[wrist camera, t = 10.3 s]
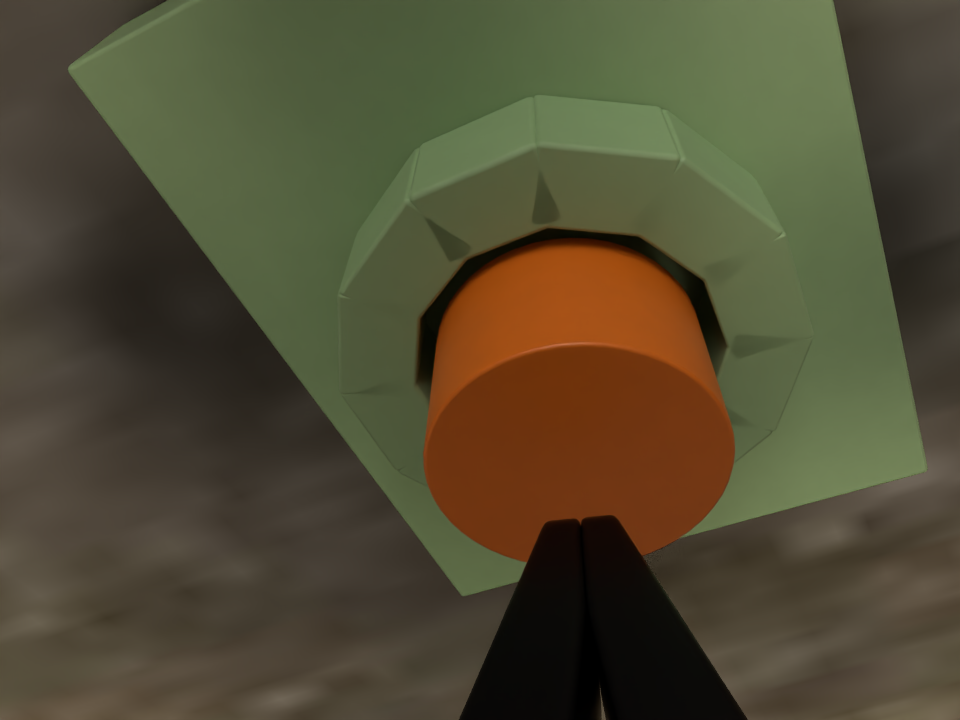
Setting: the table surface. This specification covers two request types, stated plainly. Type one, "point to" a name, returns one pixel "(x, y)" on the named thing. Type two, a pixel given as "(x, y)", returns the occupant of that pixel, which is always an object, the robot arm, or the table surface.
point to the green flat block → (530, 206)
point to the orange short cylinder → (574, 399)
